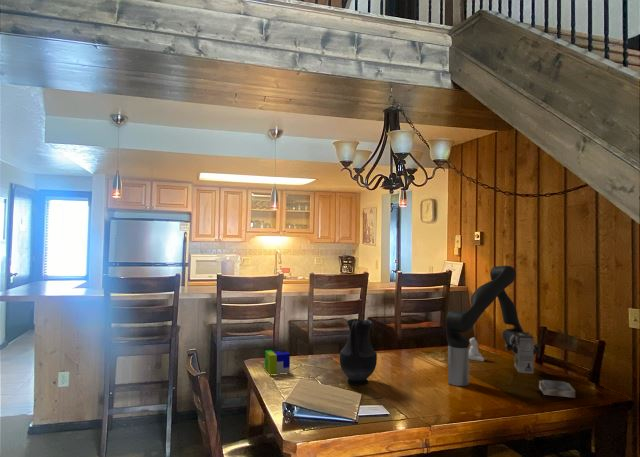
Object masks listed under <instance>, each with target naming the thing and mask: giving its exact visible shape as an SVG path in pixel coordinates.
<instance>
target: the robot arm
mask: <svg viewBox="0 0 640 457" xmlns="http://www.w3.org/2000/svg"><path fill="white" fill-rule="evenodd" d="M489 272H490V274H489V276H490V279H491V280H490V281H487V282H485V283H484V284H482V285H480V286H479V287H478V288H476V289H475V291H474V292H473V293H472V294H471V296H470V307H469V308H468V309H467V310H466V311H460V310H450V311H449V312H447V314H446V318H445V333H446V334H445V336H446V340H447V380H448V381H447V383H448V385H452V386H455V387H456V386H457V387H466V386H469V385H470V365H469V364H470V359H469V349H470V346H469V345H470V342H469V340H468V339H467V338H466V337H464V336H463V335H462V334H461V333H467V332H469V331H470V330H472V328H473V327H474V326H475V324H476V323H477V321H478V319H479V318H480V317H481V316H482V315H483V313H484V312H485V310H486V309H487V308H489V306H491V304H492V303H493V302H494V301H495V300H496V299H497V300H498V302H499V305H500V309H501V316H502V320H503V323H504V324H505V325H509V326H510V325H511V326H514V327H515V328H507V329H504V330H503V331H502V333H501V334H502V340H504V342H505V344H504V345H505V349H506V350H507V351H508V352H511V351H512V352H513V353H514V352H515V353H517V348H516V347H515V344H514V332H525V331H524V330H523V327H522V325H521V324H520V321H519V317H518V316H519V315H518V312H517V307H516V305H515V303H514V302H513V300H512V299H511V298H510V297H509V295H508V294H507V291H505V289H507V288H508V287H509V286H510V285H512V284H513V282H514V281H515V280H516V276H517V271H516V269H515V268H514V267H513V266H511V265H499V266H493V267H492V268H491V269H490V271H489ZM539 350H540V346H539V344H534V354H533V356H534V355H536V354H539V353H540V351H539Z"/></svg>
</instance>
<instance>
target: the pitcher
mask: <svg viewBox="0 0 640 457" xmlns="http://www.w3.org/2000/svg"><path fill="white" fill-rule="evenodd" d="M346 323H347V325H348V327H349V336H348V339H347V341H346V343H345V345H344V347H343V348H341V350H339V351H340V352H339V365H340V368H341V370H342V372H343V374H345V375H346V377H347V383H348V384H349V385H352V386H365V385H368V384H369V380H368V378H369V377H371V375H372V374H373V373H374V372H375V370H376V366H377V361H378V355H377V354H378V353H377V352H376V351H375V349H374V348H373V346H372V343H371V341H370V329H371V327H372V325H373V322H372V321H371V320H370V319H365V320H364V319H359V318H352V319H347V320H346Z"/></svg>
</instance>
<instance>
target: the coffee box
mask: <svg viewBox="0 0 640 457" xmlns="http://www.w3.org/2000/svg"><path fill="white" fill-rule="evenodd" d="M514 344H515V347H516V348H517V353H515V352H513V353H514V354H513V356H514V357H513V359H514V360H513V361H514V362H513V363H514V364H513V365H514V368H515V370H516V371H517V372H518V373H523V374H534V355H533V354H534V345H535V344H534V336H533V335H532V334H531V333H530V332H529V331H528V332H525V331H524V332H514Z"/></svg>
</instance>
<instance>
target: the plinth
mask: <svg viewBox="0 0 640 457" xmlns="http://www.w3.org/2000/svg"><path fill="white" fill-rule="evenodd" d="M538 388H539V390H540V391H541V393H542V394H543V395H544V396H554V397H565V398H566V397H567V398H574V399H576V390H575V388H574V387H573V386H572V385H571V384H570V383H569V382H565V381H561V380H559V381H558V380H550V379H549V380H548V379H542V380H538Z"/></svg>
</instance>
